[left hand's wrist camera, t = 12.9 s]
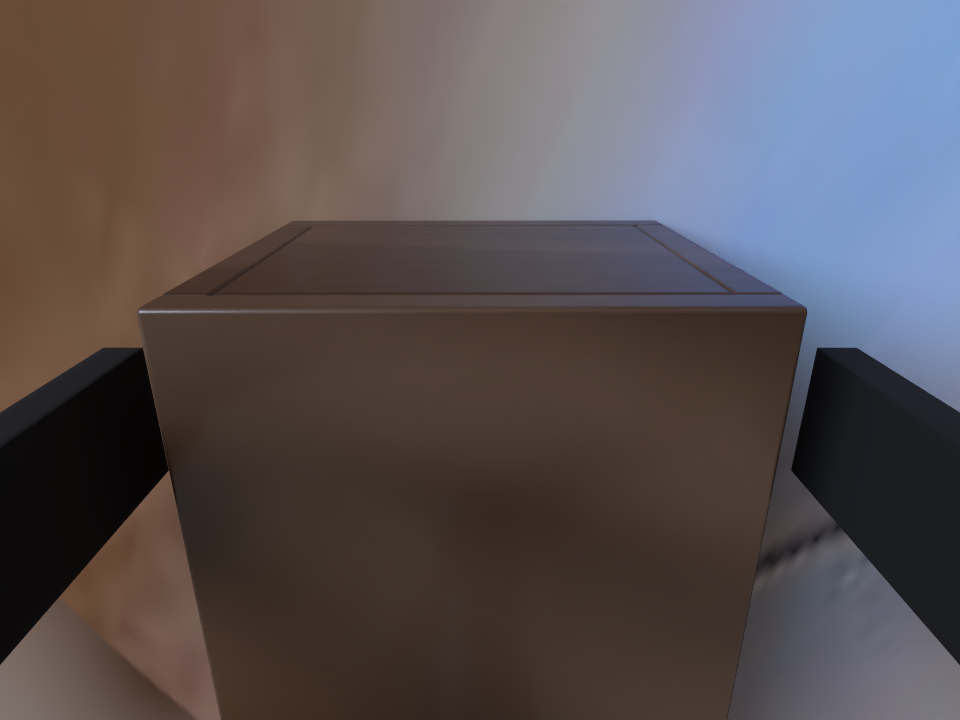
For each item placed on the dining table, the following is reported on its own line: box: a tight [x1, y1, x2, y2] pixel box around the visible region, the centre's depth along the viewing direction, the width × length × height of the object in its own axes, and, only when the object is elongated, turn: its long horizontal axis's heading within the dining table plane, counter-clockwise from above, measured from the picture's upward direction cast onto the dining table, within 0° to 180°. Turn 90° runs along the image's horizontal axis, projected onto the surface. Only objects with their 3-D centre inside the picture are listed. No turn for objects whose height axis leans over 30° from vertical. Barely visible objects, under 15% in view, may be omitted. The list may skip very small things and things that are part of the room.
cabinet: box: [137, 221, 807, 720], centre depth 17 cm, size 20×10×8 cm, turn 0°
